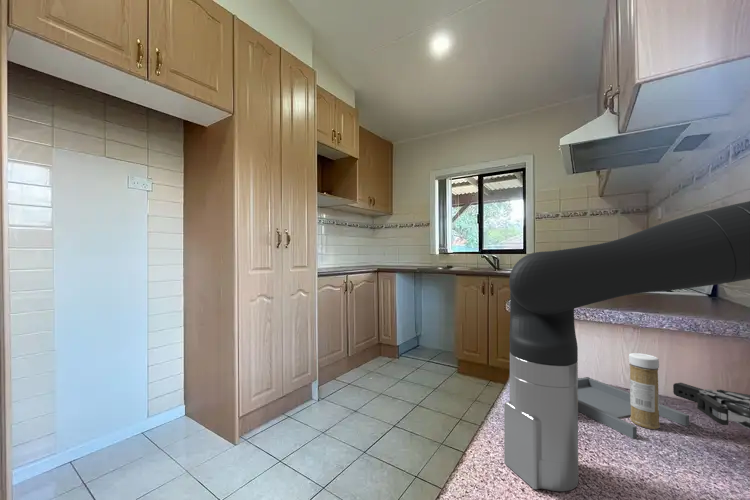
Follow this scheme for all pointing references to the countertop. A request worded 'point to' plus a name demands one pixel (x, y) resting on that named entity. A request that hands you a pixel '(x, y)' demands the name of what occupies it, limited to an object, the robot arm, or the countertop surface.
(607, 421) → the grey open-ended tray
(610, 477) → the countertop surface
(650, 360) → the sprinkles bottle
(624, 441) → the countertop surface
